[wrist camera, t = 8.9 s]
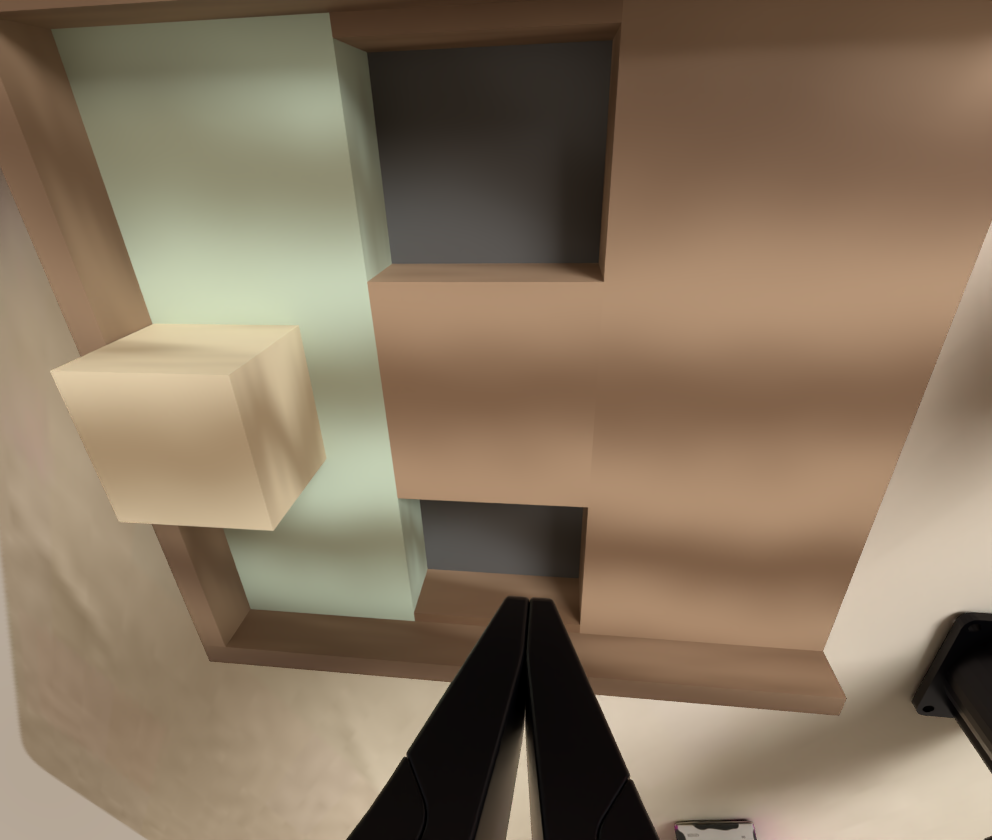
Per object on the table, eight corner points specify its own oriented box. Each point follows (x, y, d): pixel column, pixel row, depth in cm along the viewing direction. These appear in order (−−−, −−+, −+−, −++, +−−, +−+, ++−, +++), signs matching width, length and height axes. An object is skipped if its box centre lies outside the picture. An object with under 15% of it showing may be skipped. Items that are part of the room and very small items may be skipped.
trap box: (788, 609, 24) (839, 715, 20) (267, 575, 27) (209, 661, 22) (1005, -51, 13) (1227, -145, 9) (91, 8, 16) (-88, -42, 12)
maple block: (326, 458, 19) (273, 530, 16) (198, 453, 20) (119, 522, 16) (299, 324, 17) (229, 375, 13) (153, 323, 17) (49, 370, 14)
